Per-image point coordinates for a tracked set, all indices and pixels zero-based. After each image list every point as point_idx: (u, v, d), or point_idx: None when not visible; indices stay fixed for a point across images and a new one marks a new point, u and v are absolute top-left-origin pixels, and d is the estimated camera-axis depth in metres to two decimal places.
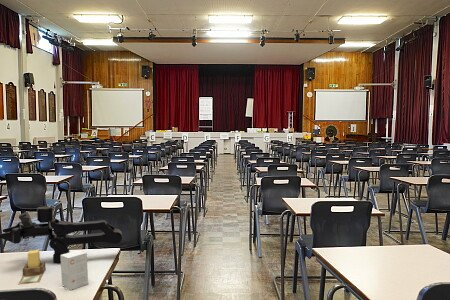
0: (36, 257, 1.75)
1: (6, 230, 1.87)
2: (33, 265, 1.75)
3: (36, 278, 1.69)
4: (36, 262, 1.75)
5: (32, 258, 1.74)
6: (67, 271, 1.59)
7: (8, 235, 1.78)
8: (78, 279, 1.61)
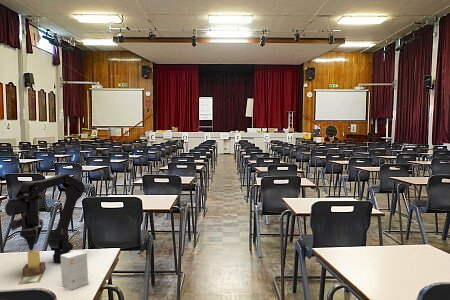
0: (36, 257, 1.75)
1: (34, 240, 1.80)
2: (33, 265, 1.75)
3: (36, 278, 1.69)
4: (36, 262, 1.75)
5: (32, 258, 1.74)
6: (67, 271, 1.59)
7: (29, 239, 1.70)
8: (78, 279, 1.61)
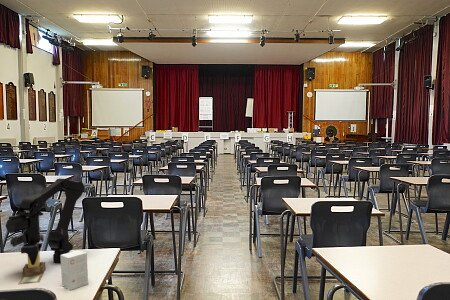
0: None
1: None
2: (33, 265, 1.75)
3: (36, 278, 1.69)
4: (36, 262, 1.75)
5: None
6: (67, 271, 1.59)
7: (31, 254, 1.73)
8: (78, 279, 1.61)
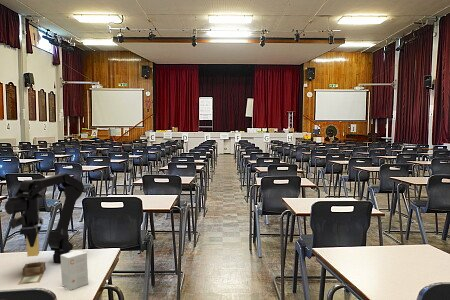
0: None
1: None
2: (32, 247, 1.74)
3: (36, 278, 1.69)
4: (35, 245, 1.74)
5: None
6: (67, 271, 1.59)
7: (30, 236, 1.72)
8: (78, 279, 1.61)
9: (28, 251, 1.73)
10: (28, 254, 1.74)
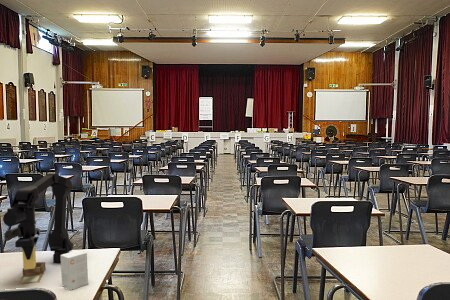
0: None
1: None
2: (28, 260, 1.66)
3: (36, 278, 1.69)
4: (31, 257, 1.66)
5: None
6: (68, 271, 1.59)
7: (27, 248, 1.64)
8: (78, 279, 1.61)
9: (24, 264, 1.65)
10: (24, 267, 1.65)
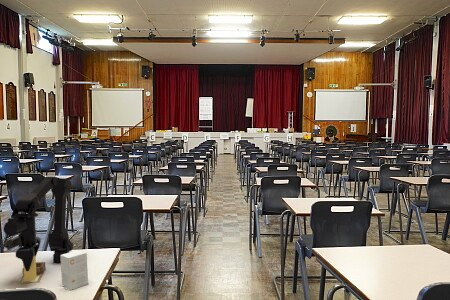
0: (32, 263, 1.66)
1: None
2: (29, 272, 1.66)
3: (36, 278, 1.69)
4: (32, 269, 1.66)
5: None
6: (67, 271, 1.59)
7: (26, 260, 1.62)
8: (78, 279, 1.61)
9: (25, 276, 1.66)
10: (25, 279, 1.66)
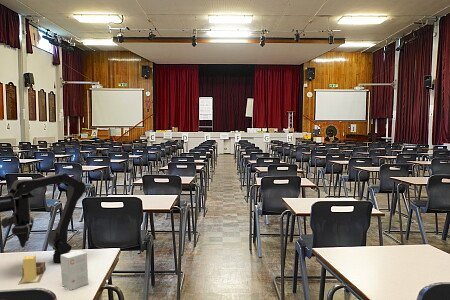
0: (32, 263, 1.66)
1: None
2: (29, 272, 1.66)
3: (36, 278, 1.69)
4: (32, 269, 1.66)
5: (28, 264, 1.66)
6: (67, 271, 1.59)
7: (21, 237, 1.72)
8: (78, 279, 1.61)
9: (25, 276, 1.66)
10: (25, 279, 1.66)
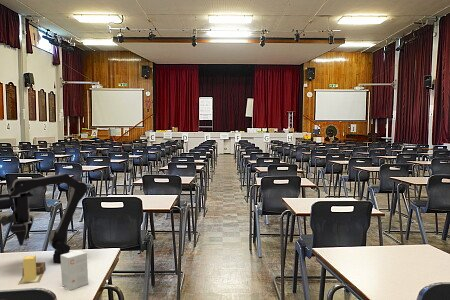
0: (32, 263, 1.66)
1: (25, 236, 1.85)
2: (29, 272, 1.66)
3: (36, 278, 1.69)
4: (32, 269, 1.66)
5: (28, 264, 1.66)
6: (67, 271, 1.59)
7: (19, 235, 1.75)
8: (78, 279, 1.61)
9: (25, 276, 1.66)
10: (25, 279, 1.66)
